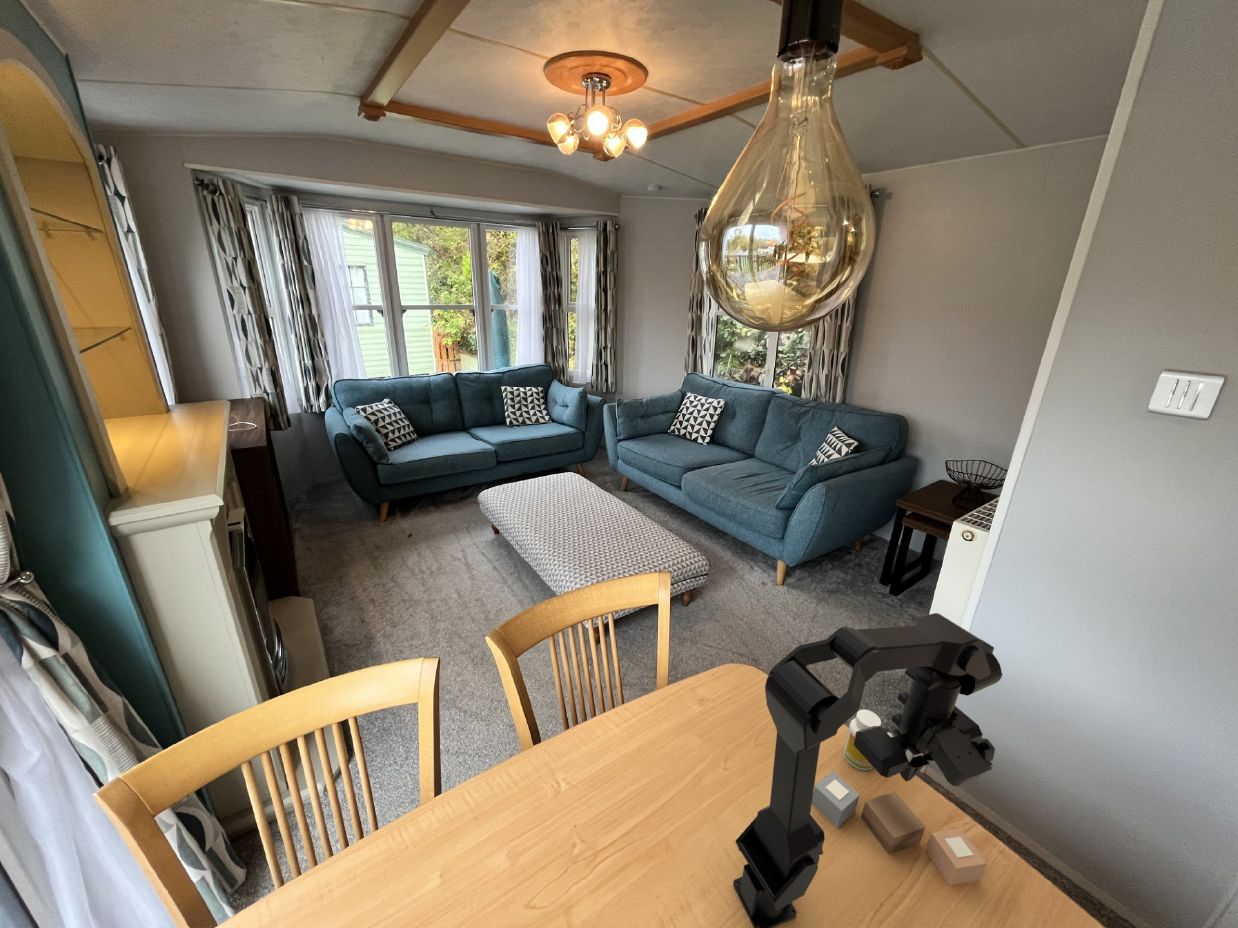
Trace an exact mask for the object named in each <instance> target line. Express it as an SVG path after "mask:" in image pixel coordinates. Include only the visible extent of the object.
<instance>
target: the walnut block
mask: <svg viewBox="0 0 1238 928" xmlns="http://www.w3.org/2000/svg"><path fill="white" fill-rule="evenodd" d="M860 819H861V820H862V821H863V823H864V824H865V825H866V827H867V828H868V829H869V831H871V833H872V835H873V836H874V838H875V839H876V840H877V842H878V843H879V844H880V845H881V847H882V849H884V851H885V852H886V853H887V854H888V856H890V855H893V854H896V853H898V852H901V851H903V850H907V849H909V848H912V847H915V846H917V845H920V843H921V842H922V838H923V834H924V832H925V829H926V826H925V825H924V823H922V821H921V820H920V819H919V818H918V816H917V815H916V814H915V813H914V812H913V810H912V809H911V808H910V807H909V806H908V805H907V804H906V803H905V801H904V800H903V799H902V797H901V796H900V795H899V794H898V793H897V791H893V792H889V793H885V794H884V795H880V796H876V797H875V798H874V797H873V798H871V799H868V800H867V799H866V800H865V802H864V805H863V808H862V811H861V815H860Z"/></svg>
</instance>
